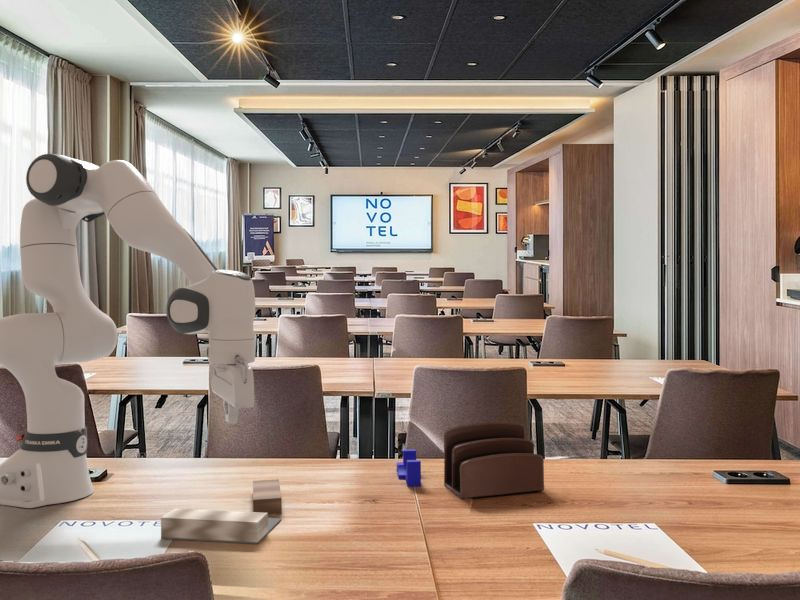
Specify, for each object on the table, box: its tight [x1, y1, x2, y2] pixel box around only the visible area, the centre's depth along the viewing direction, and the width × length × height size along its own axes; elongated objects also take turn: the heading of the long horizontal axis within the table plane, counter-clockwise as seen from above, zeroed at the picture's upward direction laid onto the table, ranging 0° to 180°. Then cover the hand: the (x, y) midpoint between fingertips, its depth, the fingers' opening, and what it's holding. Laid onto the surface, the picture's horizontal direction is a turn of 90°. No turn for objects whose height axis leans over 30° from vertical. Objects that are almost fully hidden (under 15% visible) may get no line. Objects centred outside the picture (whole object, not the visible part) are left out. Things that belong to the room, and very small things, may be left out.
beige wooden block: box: [160, 507, 269, 542], centre depth 131 cm, size 18×5×4 cm, turn 81°
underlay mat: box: [160, 517, 282, 545], centre depth 135 cm, size 18×13×1 cm
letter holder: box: [443, 421, 545, 500], centre depth 161 cm, size 10×20×14 cm, turn 107°
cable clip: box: [396, 448, 422, 488], centre depth 168 cm, size 12×4×6 cm, turn 4°
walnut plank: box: [252, 478, 283, 515], centre depth 150 cm, size 14×6×4 cm, turn 12°
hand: (231, 422), depth 144 cm, fingers closed
